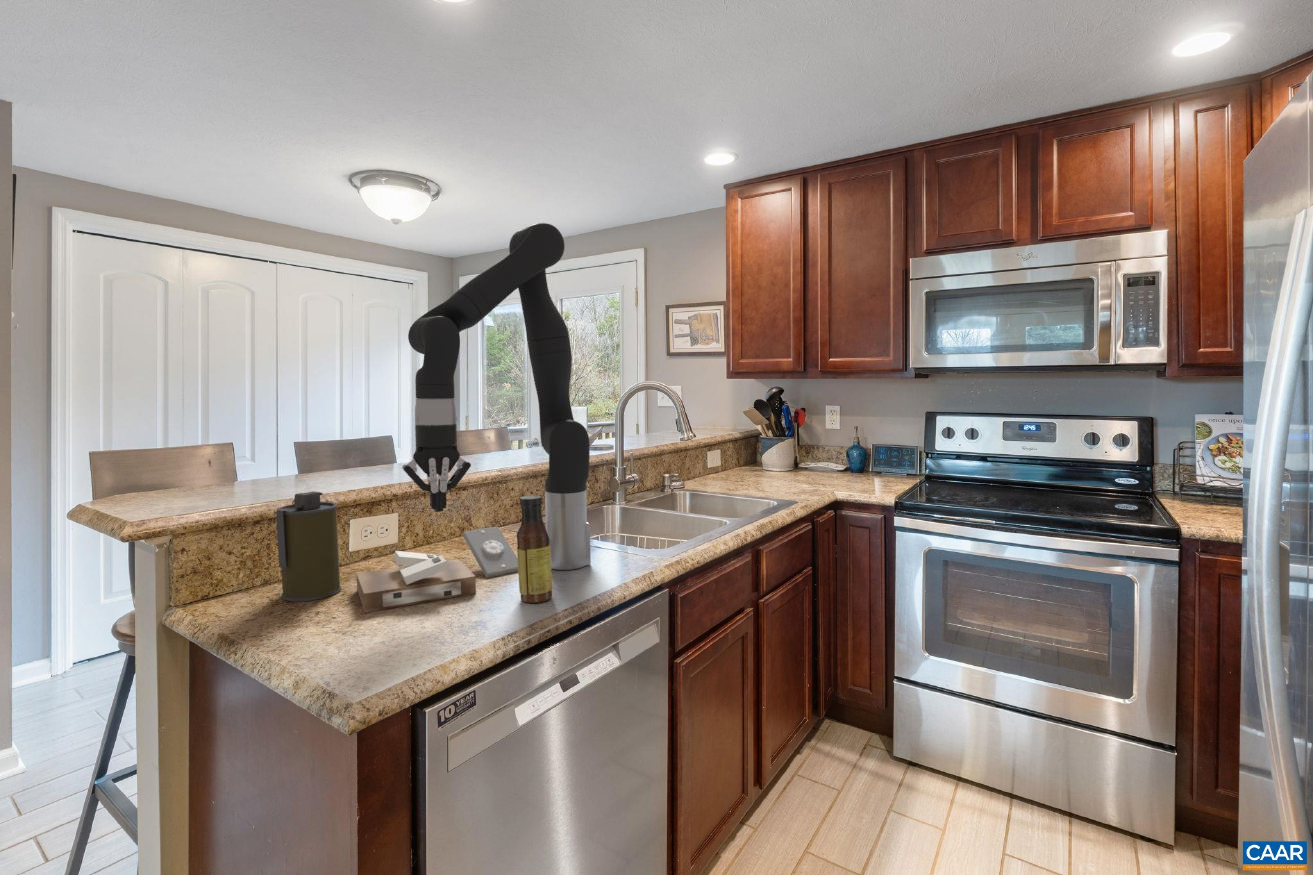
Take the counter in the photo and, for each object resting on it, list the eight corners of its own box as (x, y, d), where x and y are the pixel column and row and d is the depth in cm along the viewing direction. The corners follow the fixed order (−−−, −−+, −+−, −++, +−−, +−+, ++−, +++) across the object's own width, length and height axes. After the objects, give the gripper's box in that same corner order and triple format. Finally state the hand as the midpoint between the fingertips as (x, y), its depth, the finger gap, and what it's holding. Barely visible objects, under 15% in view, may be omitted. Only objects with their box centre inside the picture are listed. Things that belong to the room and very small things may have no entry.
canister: (318, 581, 131) (314, 487, 129) (353, 588, 127) (348, 491, 125) (267, 597, 122) (261, 496, 120) (302, 606, 117) (296, 500, 115)
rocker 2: (443, 562, 125) (440, 553, 125) (448, 568, 121) (446, 559, 121) (402, 577, 122) (399, 569, 121) (406, 584, 117) (403, 576, 117)
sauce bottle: (558, 595, 122) (556, 495, 121) (542, 606, 117) (540, 500, 115) (528, 591, 125) (526, 493, 123) (511, 602, 119) (509, 498, 117)
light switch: (488, 571, 133) (463, 528, 142) (483, 591, 136) (459, 548, 145) (524, 563, 138) (498, 522, 148) (519, 583, 141) (494, 542, 150)
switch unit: (459, 574, 136) (458, 559, 135) (477, 594, 123) (476, 577, 123) (357, 590, 126) (356, 573, 125) (365, 613, 113) (364, 594, 113)
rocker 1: (433, 562, 132) (435, 553, 132) (438, 568, 128) (440, 559, 128) (393, 558, 128) (395, 549, 128) (397, 564, 124) (399, 555, 124)
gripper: (466, 420, 127) (467, 504, 128) (396, 422, 120) (398, 511, 122) (475, 422, 121) (477, 511, 122) (402, 424, 114) (405, 518, 115)
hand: (438, 511), depth 122 cm, fingers closed
